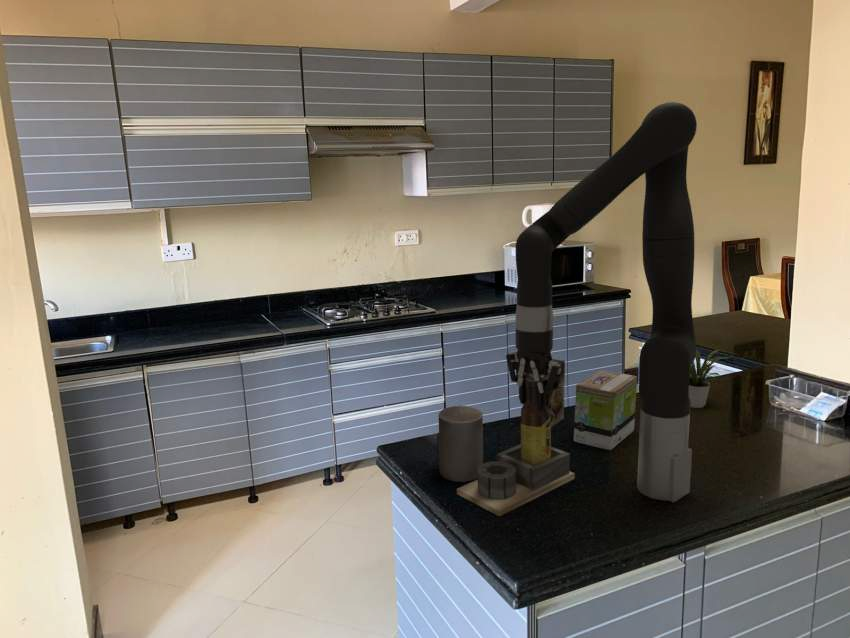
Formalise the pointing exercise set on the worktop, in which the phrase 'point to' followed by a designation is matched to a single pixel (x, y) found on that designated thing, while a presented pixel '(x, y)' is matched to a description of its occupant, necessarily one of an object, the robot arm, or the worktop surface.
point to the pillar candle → (460, 443)
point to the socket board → (516, 480)
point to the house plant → (700, 380)
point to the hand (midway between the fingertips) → (533, 405)
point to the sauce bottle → (534, 427)
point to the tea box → (605, 409)
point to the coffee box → (557, 398)
